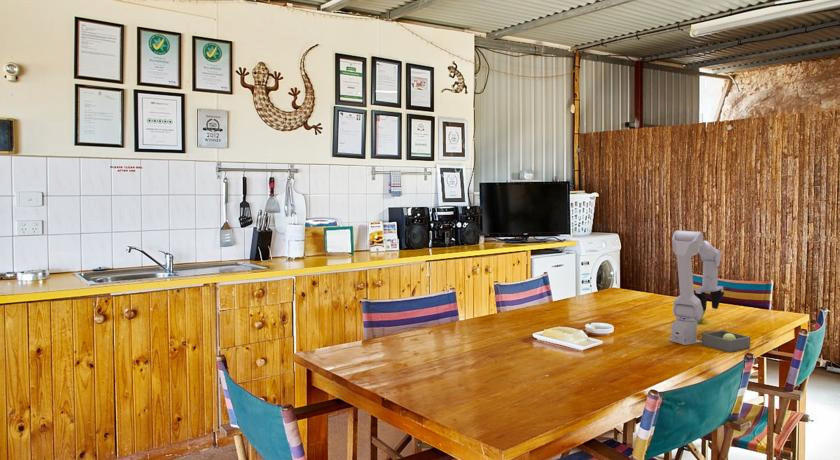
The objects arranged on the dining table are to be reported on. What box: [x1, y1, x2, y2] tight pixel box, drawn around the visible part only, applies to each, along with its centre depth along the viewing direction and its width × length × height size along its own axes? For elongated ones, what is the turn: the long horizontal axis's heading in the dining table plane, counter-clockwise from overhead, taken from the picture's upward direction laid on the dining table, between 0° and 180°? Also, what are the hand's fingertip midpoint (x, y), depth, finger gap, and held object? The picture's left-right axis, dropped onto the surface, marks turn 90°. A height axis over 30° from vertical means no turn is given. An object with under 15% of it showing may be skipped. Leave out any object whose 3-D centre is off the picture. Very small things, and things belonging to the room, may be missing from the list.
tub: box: [700, 329, 751, 354], centre depth 241 cm, size 12×12×4 cm
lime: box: [723, 333, 736, 340], centre depth 241 cm, size 5×5×5 cm
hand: (708, 309), depth 262 cm, fingers open, 7 cm apart
